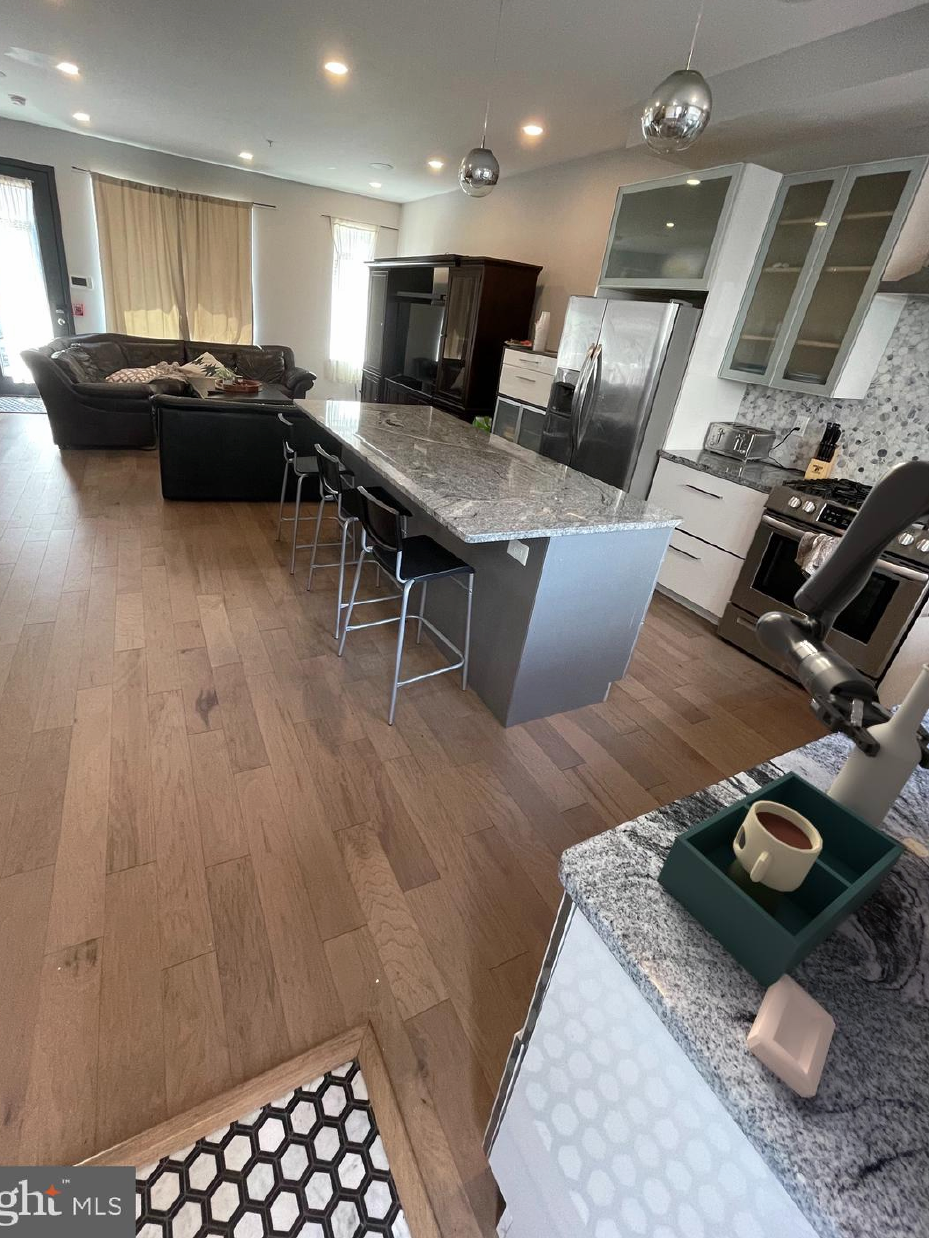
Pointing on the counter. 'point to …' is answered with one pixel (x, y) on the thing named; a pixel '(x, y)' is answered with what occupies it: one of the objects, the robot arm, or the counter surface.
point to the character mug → (773, 853)
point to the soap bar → (792, 1035)
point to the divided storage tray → (806, 913)
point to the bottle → (884, 759)
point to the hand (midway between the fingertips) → (902, 757)
